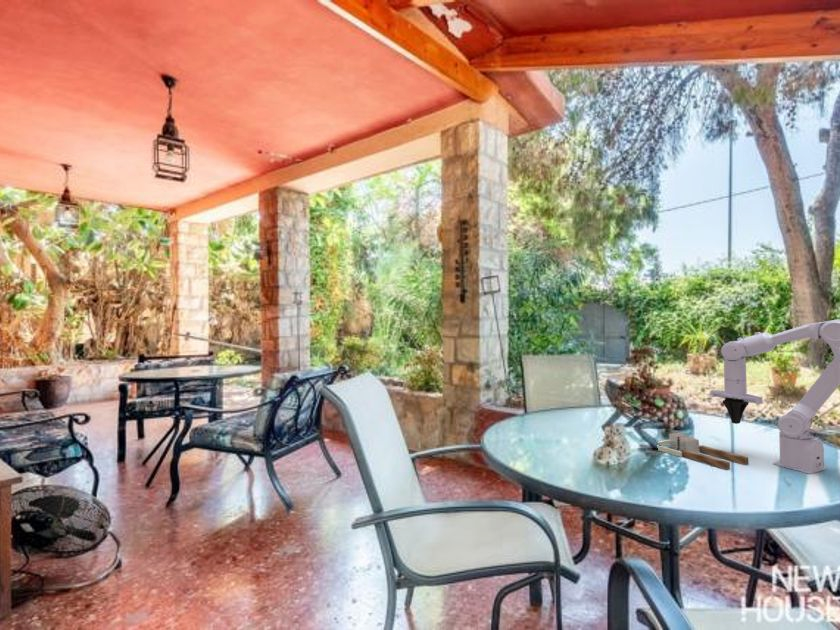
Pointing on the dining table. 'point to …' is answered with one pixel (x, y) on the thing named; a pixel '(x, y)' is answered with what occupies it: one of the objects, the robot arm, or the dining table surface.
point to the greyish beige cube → (675, 440)
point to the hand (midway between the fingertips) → (735, 423)
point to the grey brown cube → (689, 444)
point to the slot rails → (715, 453)
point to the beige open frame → (668, 450)
